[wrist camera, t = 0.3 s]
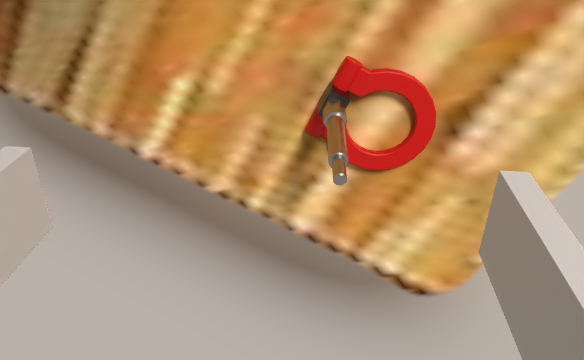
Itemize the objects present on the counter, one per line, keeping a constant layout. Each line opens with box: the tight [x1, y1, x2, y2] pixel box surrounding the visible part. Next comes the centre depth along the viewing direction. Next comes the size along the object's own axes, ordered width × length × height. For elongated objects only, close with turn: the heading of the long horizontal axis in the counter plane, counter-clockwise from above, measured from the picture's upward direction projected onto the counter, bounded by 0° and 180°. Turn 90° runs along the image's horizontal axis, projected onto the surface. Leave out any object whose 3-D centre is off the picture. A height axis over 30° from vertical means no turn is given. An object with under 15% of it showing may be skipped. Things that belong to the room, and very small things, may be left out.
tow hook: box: [305, 56, 436, 185], centre depth 36 cm, size 9×14×10 cm
